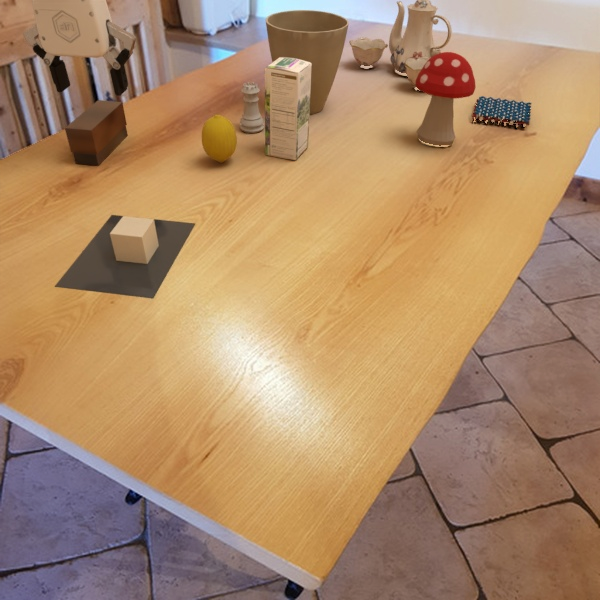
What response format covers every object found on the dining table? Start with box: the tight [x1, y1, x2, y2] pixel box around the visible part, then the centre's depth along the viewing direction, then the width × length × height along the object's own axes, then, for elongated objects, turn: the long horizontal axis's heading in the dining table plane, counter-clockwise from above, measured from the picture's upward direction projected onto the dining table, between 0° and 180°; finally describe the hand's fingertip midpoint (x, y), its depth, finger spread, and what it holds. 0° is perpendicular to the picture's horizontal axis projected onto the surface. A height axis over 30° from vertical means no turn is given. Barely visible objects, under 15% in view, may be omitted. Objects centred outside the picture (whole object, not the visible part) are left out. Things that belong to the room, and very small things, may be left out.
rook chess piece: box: [239, 81, 265, 134], centre depth 98 cm, size 4×4×8 cm
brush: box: [64, 99, 129, 167], centre depth 91 cm, size 12×4×6 cm, turn 171°
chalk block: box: [110, 215, 159, 264], centre depth 67 cm, size 4×4×4 cm
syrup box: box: [264, 57, 312, 161], centre depth 89 cm, size 6×6×14 cm
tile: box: [54, 214, 196, 299], centre depth 69 cm, size 12×16×1 cm
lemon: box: [201, 113, 238, 164], centre depth 87 cm, size 6×6×8 cm
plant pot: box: [265, 9, 350, 115], centre depth 103 cm, size 15×15×16 cm
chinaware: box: [348, 0, 453, 87], centre depth 119 cm, size 28×17×17 cm, turn 42°
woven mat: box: [471, 95, 532, 127], centre depth 106 cm, size 10×11×2 cm
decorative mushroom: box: [415, 51, 476, 146], centre depth 93 cm, size 10×9×15 cm
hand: (92, 90), depth 87 cm, fingers open, 9 cm apart
